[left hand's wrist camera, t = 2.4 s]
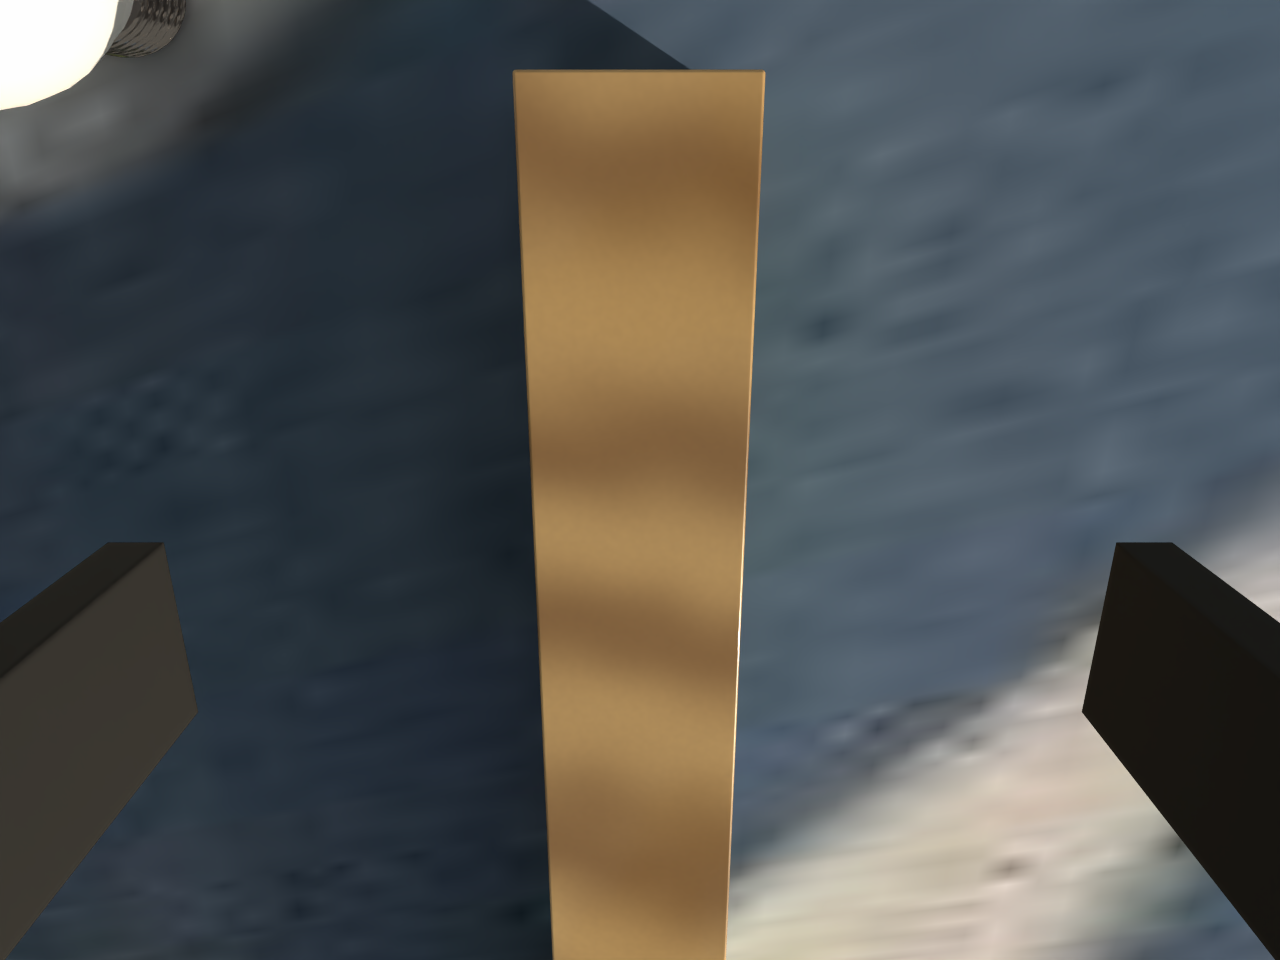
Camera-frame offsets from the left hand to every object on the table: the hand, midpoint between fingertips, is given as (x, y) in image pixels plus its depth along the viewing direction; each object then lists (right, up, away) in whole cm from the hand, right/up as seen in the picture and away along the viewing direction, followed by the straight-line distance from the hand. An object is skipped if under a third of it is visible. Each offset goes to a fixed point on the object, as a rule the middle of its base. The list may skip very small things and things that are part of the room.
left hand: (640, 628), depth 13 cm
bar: (0, -16, +24) cm, 29 cm away
